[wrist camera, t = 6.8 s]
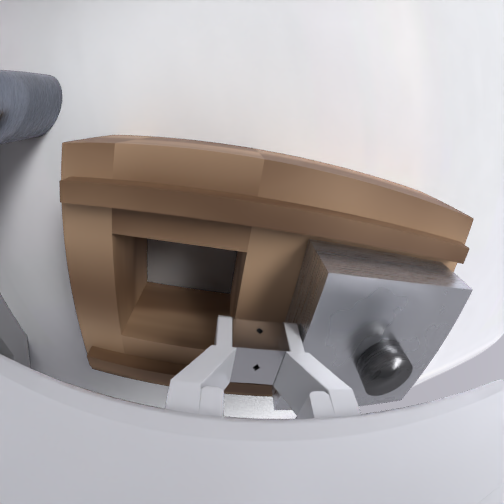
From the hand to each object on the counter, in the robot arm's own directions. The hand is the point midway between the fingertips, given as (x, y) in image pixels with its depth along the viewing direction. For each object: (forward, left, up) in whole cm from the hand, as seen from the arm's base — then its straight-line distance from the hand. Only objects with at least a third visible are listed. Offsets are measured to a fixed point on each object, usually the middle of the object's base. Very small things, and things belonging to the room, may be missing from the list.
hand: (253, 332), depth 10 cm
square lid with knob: (0, +5, -1) cm, 5 cm away
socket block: (0, +1, -6) cm, 6 cm away
